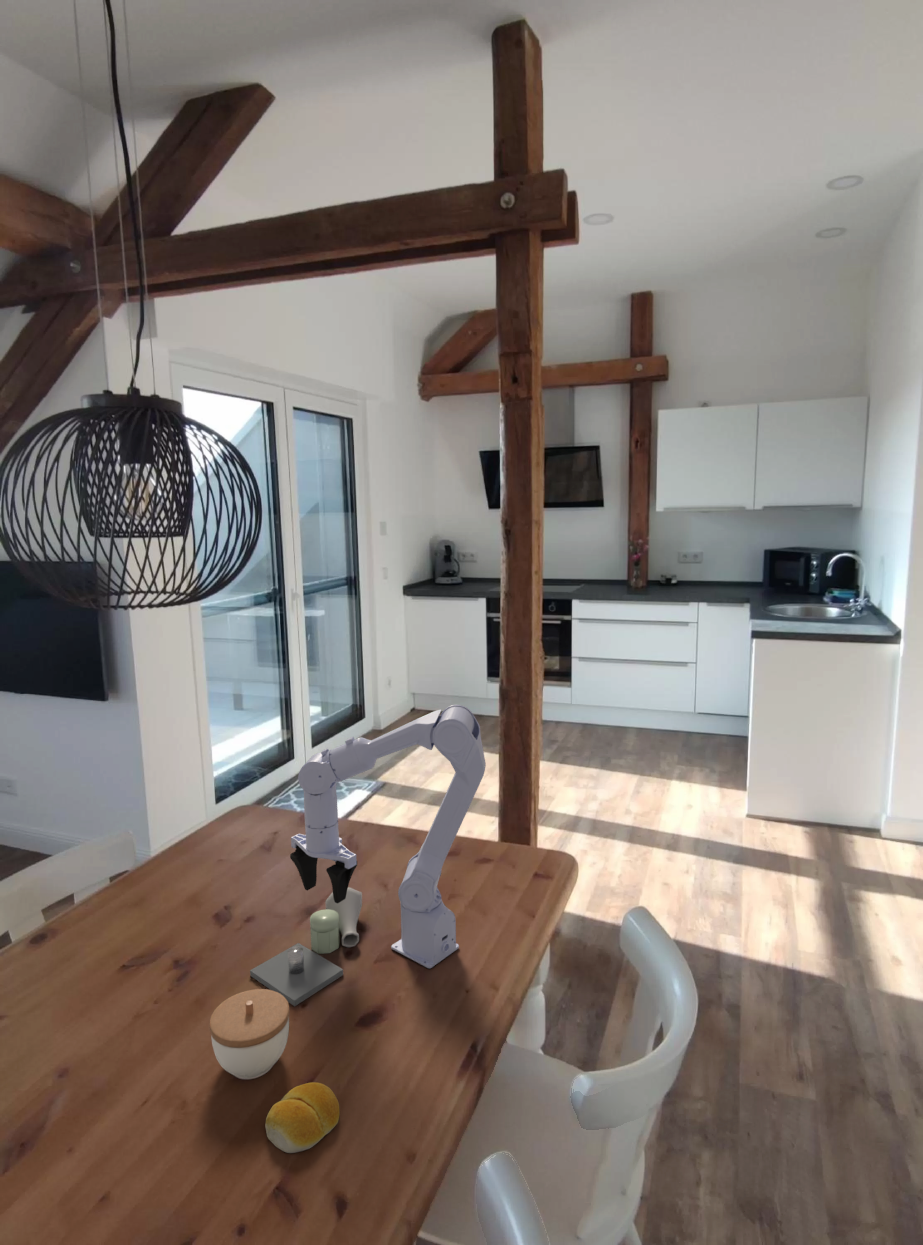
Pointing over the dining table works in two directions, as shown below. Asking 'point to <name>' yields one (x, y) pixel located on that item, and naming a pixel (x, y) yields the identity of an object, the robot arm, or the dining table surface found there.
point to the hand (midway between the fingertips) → (325, 894)
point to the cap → (324, 931)
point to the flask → (347, 915)
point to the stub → (296, 960)
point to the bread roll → (302, 1117)
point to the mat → (299, 985)
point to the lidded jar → (250, 1032)
